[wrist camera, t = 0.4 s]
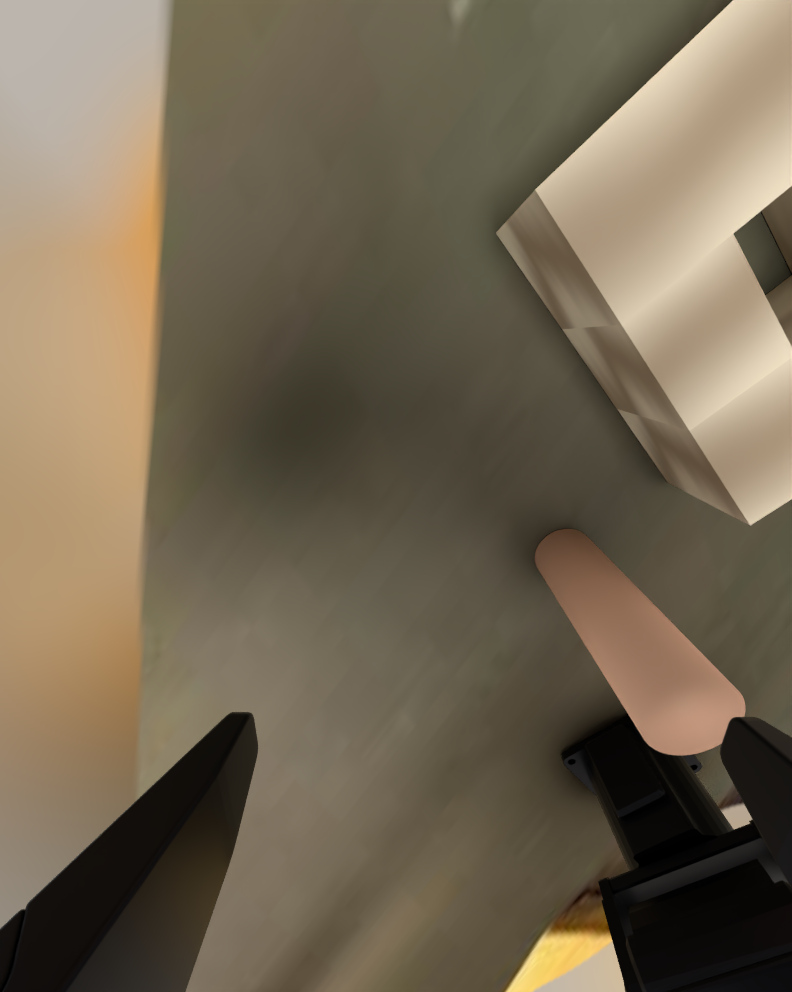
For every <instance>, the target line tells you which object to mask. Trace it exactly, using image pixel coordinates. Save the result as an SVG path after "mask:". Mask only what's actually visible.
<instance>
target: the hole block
mask: <svg viewBox="0 0 792 992" xmlns="http://www.w3.org/2000/svg"><path fill="white" fill-rule="evenodd" d="M760 211H762V213H763V215H764V217H765V220H766V222H767V224H768V226H769V228H770V230H771V232H772V234H773V236H774V238H775V240H776V242H777V244H778V246H779V248H780V250H781V252H782V254H783V256H784V258H785V260H786V263H787V265H788V267H789V269H790V271H791V273H792V0H733V1H732V2H731V3H730V4H729V5H728V6H727V7H726V8H725V9H724V10H723V11H721V12H720V13H719V14H718V15H717V16H716V17H715V18H714V19H713V20H712V21H711V22H710V23H709V24H708V25H707V26H706V27H705V28H704V29H703V30H702V31H701V32H700V33H698V34H697V35H696V36H695V37H694V38H693V39H692V40H691V41H690V42H689V43H688V44H687V45H686V46H685V47H684V48H683V49H682V50H681V51H680V52H679V53H678V54H677V55H675V56H674V57H673V58H672V59H671V60H670V61H669V62H668V63H667V64H666V65H665V66H664V67H663V68H662V69H661V70H660V71H659V72H658V73H657V74H656V75H655V76H654V77H652V78H651V79H650V80H649V81H648V82H647V83H646V84H645V85H644V86H643V87H642V88H641V89H640V90H639V91H638V92H637V93H636V94H635V95H634V96H633V97H632V98H631V99H629V100H628V101H627V102H626V103H625V104H624V105H623V106H622V107H621V108H620V109H619V110H618V111H617V112H616V113H615V114H614V115H613V116H612V117H611V118H610V119H609V120H608V121H606V122H605V123H604V124H603V125H602V126H601V127H600V128H599V129H598V130H597V131H596V132H595V133H594V134H593V135H592V136H591V137H590V138H589V139H588V140H587V141H586V142H585V143H583V144H582V145H581V146H580V147H579V148H578V149H577V150H576V151H575V152H574V153H573V154H572V155H571V156H570V157H569V158H568V159H567V160H566V161H565V162H564V163H563V164H561V165H560V166H559V167H558V168H557V169H556V170H555V171H554V172H553V173H552V174H551V175H550V176H549V177H548V178H547V179H546V180H545V181H544V182H543V183H542V184H541V185H540V186H538V187H537V188H536V189H535V190H534V191H533V193H532V194H531V195H530V196H529V197H528V198H527V199H526V200H525V201H524V202H523V204H522V205H521V206H520V207H519V208H518V209H517V210H516V211H515V212H514V213H513V215H512V216H511V217H510V218H509V219H508V220H507V221H506V222H505V223H504V224H503V226H502V227H501V228H500V229H499V230H498V231H497V232H496V234H497V236H498V237H499V239H500V240H501V241H502V243H503V244H504V246H505V247H506V249H507V250H508V252H509V253H510V255H511V256H512V257H513V259H514V260H515V262H516V263H517V265H518V266H519V268H520V269H521V271H522V272H523V273H524V275H525V276H526V278H527V279H528V281H529V282H530V284H531V285H532V286H533V288H534V289H535V291H536V292H537V294H538V295H539V297H540V298H541V300H542V301H543V302H544V304H545V305H546V307H547V308H548V310H549V311H550V313H551V314H552V315H553V317H554V318H555V320H556V321H557V323H558V324H559V326H560V327H561V329H562V330H563V331H564V333H565V334H566V336H567V337H568V339H569V340H570V342H571V343H572V344H573V346H574V347H575V349H576V350H577V352H578V353H579V355H580V356H581V358H582V359H583V360H584V362H585V363H586V365H587V366H588V368H589V369H590V371H591V372H592V374H593V375H594V376H595V378H596V379H597V381H598V382H599V384H600V385H601V387H602V388H603V389H604V391H605V392H606V394H607V395H608V397H609V398H610V400H611V401H612V403H613V404H614V405H615V407H616V408H617V410H618V411H619V413H620V414H621V416H622V417H623V418H624V420H625V421H626V423H627V424H628V426H629V427H630V429H631V430H632V432H633V433H634V434H635V436H636V437H637V439H638V440H639V442H640V443H641V445H642V446H643V448H644V449H645V450H646V452H647V453H648V455H649V456H650V458H651V459H652V461H653V462H654V463H655V465H656V466H657V468H658V469H659V471H660V472H661V474H662V475H663V477H664V478H665V479H666V481H667V482H668V483H669V484H671V485H673V486H675V487H677V488H679V489H681V490H683V491H685V492H686V493H688V494H690V495H692V496H694V497H696V498H698V499H700V500H702V501H704V502H706V503H708V504H710V505H712V506H713V507H715V508H717V509H719V510H721V511H723V512H725V513H727V514H729V515H731V516H733V517H735V518H737V519H738V520H740V521H742V522H744V523H746V524H748V525H752V524H753V523H755V522H756V521H758V520H760V519H761V518H763V517H764V516H766V515H767V514H769V513H771V512H772V511H774V510H775V509H777V508H778V507H780V506H782V505H783V504H785V503H786V502H788V501H789V500H791V499H792V275H791V276H790V277H789V278H787V279H786V280H785V281H783V282H782V283H781V284H779V285H778V286H777V287H776V288H774V289H773V290H772V291H770V292H769V293H768V294H766V295H765V294H764V292H763V290H762V288H761V286H760V284H759V282H758V281H757V279H756V277H755V275H754V273H753V271H752V269H751V267H750V265H749V263H748V261H747V259H746V257H745V255H744V253H743V252H742V250H741V248H740V246H739V244H738V242H737V240H736V238H735V236H734V234H733V233H735V232H736V231H737V230H738V229H739V228H741V227H742V226H743V225H744V224H746V223H747V222H748V221H749V220H750V219H752V218H753V217H754V216H755V215H757V214H758V213H759V212H760Z"/></svg>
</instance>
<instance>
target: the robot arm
mask: <svg viewBox="0 0 792 992" xmlns="http://www.w3.org/2000/svg"><path fill="white" fill-rule="evenodd" d="M257 753H258V741H257V735H256V728H255V722H254V717H253V715H252V713H249V712H232V713H230V714H228V715H227V716H226V717H225V718H224V719H222V720H221V721H220V722H219V723H218V724H217V725H216V726H215V727H214V728H213V729H212V730H211V731H210V732H209V733H208V734H207V735H205V736H204V737H203V738H202V739H201V740H200V741H199V742H198V743H197V744H196V745H195V746H194V747H193V748H192V749H191V750H190V751H189V752H187V753H186V754H185V755H184V756H183V757H182V758H181V759H180V760H179V761H178V762H177V763H176V764H175V765H174V766H173V767H172V768H170V769H169V770H168V771H167V772H166V773H165V774H164V775H163V776H162V777H161V778H160V779H159V780H158V781H157V782H156V783H155V784H154V785H152V786H151V787H150V788H149V789H148V790H147V791H146V792H145V793H144V794H143V795H142V796H141V797H140V798H139V799H138V800H137V801H135V802H134V803H133V804H132V805H131V806H130V807H129V808H128V809H127V810H126V811H125V812H124V813H123V814H122V815H121V816H120V817H119V818H117V819H116V821H114V822H113V823H112V824H111V825H110V826H109V827H108V828H107V829H106V830H105V831H104V832H103V833H102V834H100V836H98V837H97V838H96V839H95V840H94V841H93V842H92V843H91V844H90V845H89V846H88V847H87V848H86V849H85V850H84V851H82V852H81V853H80V854H79V855H78V856H77V857H76V858H75V859H74V860H73V861H72V862H71V863H70V864H69V865H68V866H67V867H65V868H64V869H63V870H62V871H61V872H60V873H59V874H58V875H57V876H56V877H55V878H54V879H53V880H52V881H51V882H50V883H48V885H46V886H45V887H44V888H43V889H42V890H41V891H40V892H39V893H38V894H37V895H36V896H35V897H34V898H33V899H32V900H30V902H29V903H28V904H27V906H26V909H22V910H20V911H19V912H18V913H16V914H15V915H14V916H13V917H12V918H11V919H10V920H9V921H8V922H7V923H6V924H5V925H4V926H3V927H2V928H1V929H0V992H185V991H186V988H187V985H188V982H189V980H190V977H191V974H192V971H193V968H194V965H195V962H196V959H197V956H198V954H199V951H200V948H201V945H202V942H203V939H204V936H205V933H206V930H207V927H208V925H209V922H210V919H211V916H212V913H213V910H214V907H215V904H216V901H217V898H218V896H219V893H220V890H221V887H222V884H223V881H224V878H225V875H226V872H227V870H228V866H229V863H230V860H231V857H232V854H233V851H234V847H235V843H236V839H237V836H238V832H239V828H240V823H241V819H242V815H243V811H244V807H245V803H246V799H247V795H248V791H249V787H250V783H251V779H252V775H253V771H254V767H255V763H256V759H257ZM720 755H721V759H722V762H723V764H724V766H725V768H726V770H727V772H728V774H729V776H730V778H731V779H732V781H733V783H734V785H735V787H736V789H737V791H738V793H739V795H740V796H741V798H742V800H743V802H744V804H745V806H746V808H747V810H748V812H749V813H750V815H751V817H752V819H753V820H751V821H749V822H750V824H748V825H745V826H743V827H741V828H738V829H735V830H734V829H733V828H732V826H731V825H730V824H729V822H728V821H727V819H726V818H725V816H724V815H723V813H722V812H721V811H720V809H719V808H718V806H717V805H716V803H715V802H714V800H713V799H712V797H711V796H710V795H709V793H708V792H707V790H706V789H705V787H704V786H703V784H702V783H701V782H700V780H699V779H698V777H697V776H696V774H695V773H696V772H698V771H699V770H700V769H701V767H702V765H701V763H700V762H699V761H698V759H697V758H696V757H695V756H694V754H692V755H669V754H665V753H662V752H659V751H657V750H655V749H653V748H652V747H650V746H649V745H648V744H647V743H646V742H645V740H644V739H643V737H642V736H641V734H640V732H639V731H638V729H637V728H636V726H635V724H634V723H633V721H632V719H631V718H630V716H627V717H626V718H624V719H622V720H620V721H618V722H617V723H615V724H613V725H611V726H610V727H608V728H606V729H604V730H602V731H601V732H599V733H597V734H595V735H594V736H592V737H590V738H588V739H587V740H585V741H583V742H581V743H579V744H578V745H576V746H574V747H572V748H571V749H569V750H567V751H565V752H564V753H563V754H562V756H561V758H562V760H563V763H564V765H565V766H566V767H567V768H568V769H569V770H570V771H571V772H572V773H573V774H574V775H575V776H576V777H577V778H578V779H579V780H581V781H582V782H583V783H584V784H585V785H586V786H587V787H588V788H589V789H590V790H591V791H592V792H593V793H594V794H595V795H596V796H597V798H598V800H599V802H600V805H601V807H602V809H603V811H604V814H605V816H606V818H607V820H608V823H609V825H610V827H611V830H612V832H613V834H614V836H615V839H616V841H617V843H618V845H619V848H620V850H621V852H622V854H623V857H624V859H625V861H626V864H627V866H628V868H629V870H630V871H628V872H626V873H623V874H621V875H618V876H616V877H613V878H611V879H609V878H608V877H606V878H604V879H601V880H599V881H598V882H599V886H600V890H601V893H602V897H603V900H602V904H603V908H604V911H605V915H606V919H607V922H608V926H609V930H610V933H611V937H612V940H613V944H614V948H615V951H616V955H617V958H618V962H619V965H620V969H621V972H622V977H623V980H624V986H625V992H792V738H791V737H790V736H788V735H786V734H785V733H783V732H781V731H780V730H778V729H776V728H775V727H773V726H771V725H770V724H768V723H766V722H765V721H763V720H761V719H759V718H755V717H733V718H732V719H731V720H730V721H729V723H728V726H727V729H726V732H725V735H724V738H723V741H722V744H721V747H720Z"/></svg>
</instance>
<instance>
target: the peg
mask: <svg viewBox="0 0 792 992" xmlns="http://www.w3.org/2000/svg"><path fill="white" fill-rule="evenodd" d="M535 563H536V566H537V568H538V570H539V571H540V573H541V575H542V576H543V578H544V580H545V581H546V583H547V584H548V586H549V588H550V589H551V591H552V592H553V594H554V596H555V597H556V599H557V600H558V602H559V604H560V605H561V607H562V608H563V610H564V612H565V613H566V615H567V617H568V618H569V620H570V621H571V623H572V625H573V626H574V628H575V629H576V631H577V633H578V634H579V636H580V637H581V639H582V641H583V642H584V644H585V645H586V647H587V649H588V650H589V652H590V654H591V655H592V657H593V658H594V660H595V662H596V663H597V665H598V666H599V668H600V670H601V671H602V673H603V674H604V676H605V678H606V679H607V681H608V682H609V684H610V686H611V687H612V689H613V691H614V692H615V694H616V695H617V697H618V699H619V700H620V702H621V703H622V705H623V707H624V708H625V710H626V711H627V713H628V715H629V716H630V718H631V719H632V721H633V723H634V724H635V726H636V728H637V729H638V731H639V732H640V734H641V736H642V737H643V739H644V740H645V742H646V743H647V744H648V745H649V746H650V747H652V748H653V749H655V750H657V751H659V752H662V753H665V754H669V755H692V754H697V753H701V752H704V751H707V750H710V749H712V748H714V747H716V746H718V745H720V744H721V743H722V741H723V738H724V735H725V732H726V729H727V726H728V723H729V721H730V720H731V719H732V718H733V717H744V715H745V701H744V699H743V696H742V695H741V693H740V692H739V691H738V690H737V689H736V688H735V687H734V686H733V685H732V684H731V683H730V682H729V681H728V680H727V679H726V678H725V677H724V676H723V675H722V674H721V673H720V671H719V670H718V669H717V668H716V667H715V666H714V665H713V664H712V663H711V662H710V661H709V660H708V659H707V658H706V657H705V656H704V655H703V654H702V653H701V652H700V651H699V650H698V649H697V648H696V647H695V646H694V645H693V644H692V643H691V642H690V641H689V640H688V639H687V638H686V637H685V636H684V635H683V634H682V633H681V632H680V631H679V630H678V629H677V628H676V627H675V626H674V625H673V623H672V622H671V621H670V620H669V619H668V618H667V617H666V616H665V615H664V614H663V613H662V612H661V611H660V610H659V609H658V608H657V607H656V606H655V605H654V604H653V603H652V602H651V601H650V600H649V599H648V598H647V597H646V596H645V595H644V594H643V593H642V592H641V591H640V590H639V589H638V588H637V587H636V586H635V585H634V584H633V583H632V582H631V581H630V580H629V579H628V578H627V577H626V575H625V574H624V573H623V572H622V571H621V570H620V569H619V568H618V567H617V566H616V565H615V564H614V563H613V562H612V561H611V560H610V559H609V558H608V557H607V556H606V555H605V554H604V553H603V552H602V551H601V550H600V549H599V548H598V547H597V546H596V545H595V544H594V543H593V542H592V541H591V540H590V539H589V538H588V537H587V536H586V535H585V534H584V533H582V532H580V531H578V530H575V529H561V530H557V531H554V532H552V533H550V534H549V535H547V536H546V537H545V538H544V539H543V540H542V541H541V542H540V543H539V545H538V547H537V549H536V552H535Z"/></svg>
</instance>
